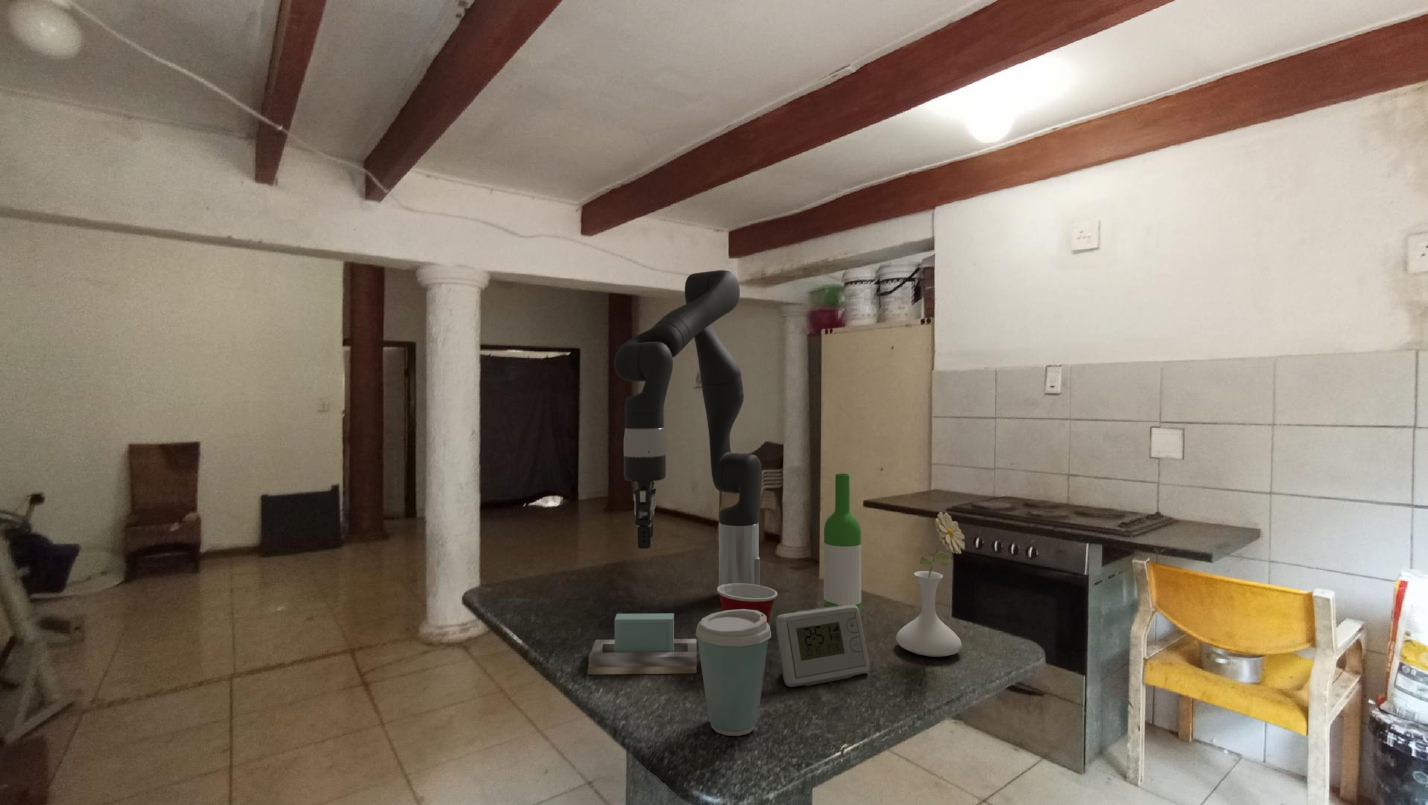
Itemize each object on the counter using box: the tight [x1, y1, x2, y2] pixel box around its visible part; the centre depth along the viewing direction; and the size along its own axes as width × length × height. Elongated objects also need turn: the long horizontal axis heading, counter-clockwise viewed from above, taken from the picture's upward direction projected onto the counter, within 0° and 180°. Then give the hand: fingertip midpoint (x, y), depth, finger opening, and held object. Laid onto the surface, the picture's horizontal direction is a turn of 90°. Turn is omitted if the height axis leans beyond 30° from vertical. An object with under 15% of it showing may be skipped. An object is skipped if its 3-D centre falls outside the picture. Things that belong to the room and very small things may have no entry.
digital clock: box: [774, 605, 870, 688], centre depth 105 cm, size 16×9×11 cm, turn 101°
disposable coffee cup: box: [695, 609, 772, 737], centre depth 88 cm, size 11×11×15 cm
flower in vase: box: [895, 511, 966, 658], centre depth 116 cm, size 13×11×25 cm
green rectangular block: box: [614, 612, 675, 653], centre depth 110 cm, size 10×3×7 cm, turn 91°
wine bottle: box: [823, 473, 862, 615], centre depth 134 cm, size 8×8×30 cm
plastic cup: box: [716, 583, 778, 625], centre depth 112 cm, size 11×11×12 cm
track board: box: [587, 638, 698, 675], centre depth 110 cm, size 18×10×2 cm, turn 92°
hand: (645, 542), depth 115 cm, fingers open, 8 cm apart
